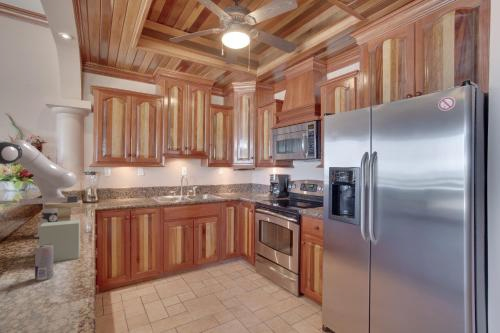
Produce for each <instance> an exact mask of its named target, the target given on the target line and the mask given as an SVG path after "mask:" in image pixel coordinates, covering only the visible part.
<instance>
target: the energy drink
mask: <svg viewBox="0 0 500 333" xmlns="http://www.w3.org/2000/svg"><path fill="white" fill-rule="evenodd" d="M34 254H35V255H34V280H35V281H36V282H42V281H43V282H44V281H47V280H50V279H51V278H53V277H54V262H53V245H52V244H44V245H40V246H39V245H37V246H36V247H35V249H34Z"/></svg>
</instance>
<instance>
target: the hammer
mask: <svg viewBox="0 0 500 333" xmlns="http://www.w3.org/2000/svg"><path fill="white" fill-rule="evenodd" d="M78 200H79V194H69V195H67V196H65V197H54V198H42V197H39V198H38V197H37V198H36V197H35V198H34V197H33V198H19V201H18V202H19V204H18V205H20V206H22V205H23V206H25V205H41V204H42V205H43V204H45V203H65V202H67V203H77V202H78Z"/></svg>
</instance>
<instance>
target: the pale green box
mask: <svg viewBox="0 0 500 333" xmlns="http://www.w3.org/2000/svg"><path fill="white" fill-rule="evenodd" d="M38 238H39V239H38V240H39V241H38V243H39V245H38V246H40V245H44V244H52V245H53V263H57V262H62V261H69V260H76V259H77V260H78V259H79V258H80V254H81V251H80V243H81V219H76V220H75V219H71V221H59V222H47V223H43V224H42V225H41V226H40V227H39V237H38Z"/></svg>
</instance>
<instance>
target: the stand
mask: <svg viewBox="0 0 500 333" xmlns="http://www.w3.org/2000/svg"><path fill="white" fill-rule="evenodd" d="M82 204H83V200H82V199H80V200H79V199H78V202H77V203H67V202H65V203H46V204H44V209H51V208H57V222H59V221H72V208H81V207H82ZM82 245H83V244H82V242H80V252H81V251H82V250H81V249H82Z"/></svg>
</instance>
